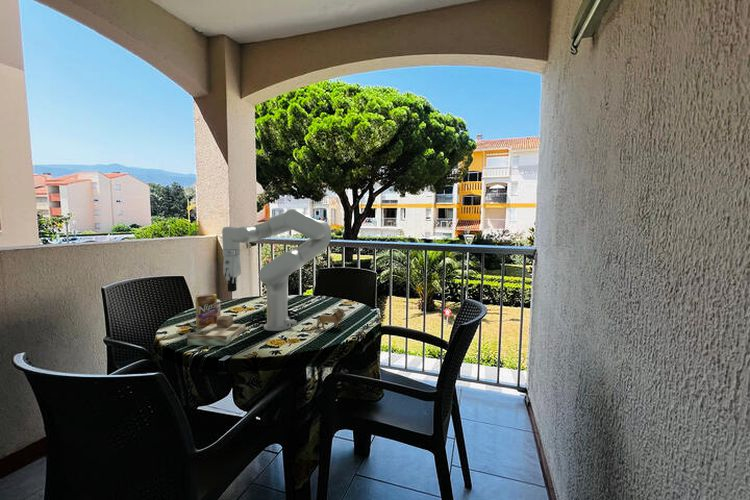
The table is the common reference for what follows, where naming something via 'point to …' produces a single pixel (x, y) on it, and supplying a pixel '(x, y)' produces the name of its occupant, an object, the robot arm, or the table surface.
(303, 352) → the table surface
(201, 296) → the candy box
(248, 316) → the table surface
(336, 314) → the lion figurine
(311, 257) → the robot arm
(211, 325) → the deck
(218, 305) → the teacup with lid
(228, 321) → the block
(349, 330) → the table surface
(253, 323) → the table surface
